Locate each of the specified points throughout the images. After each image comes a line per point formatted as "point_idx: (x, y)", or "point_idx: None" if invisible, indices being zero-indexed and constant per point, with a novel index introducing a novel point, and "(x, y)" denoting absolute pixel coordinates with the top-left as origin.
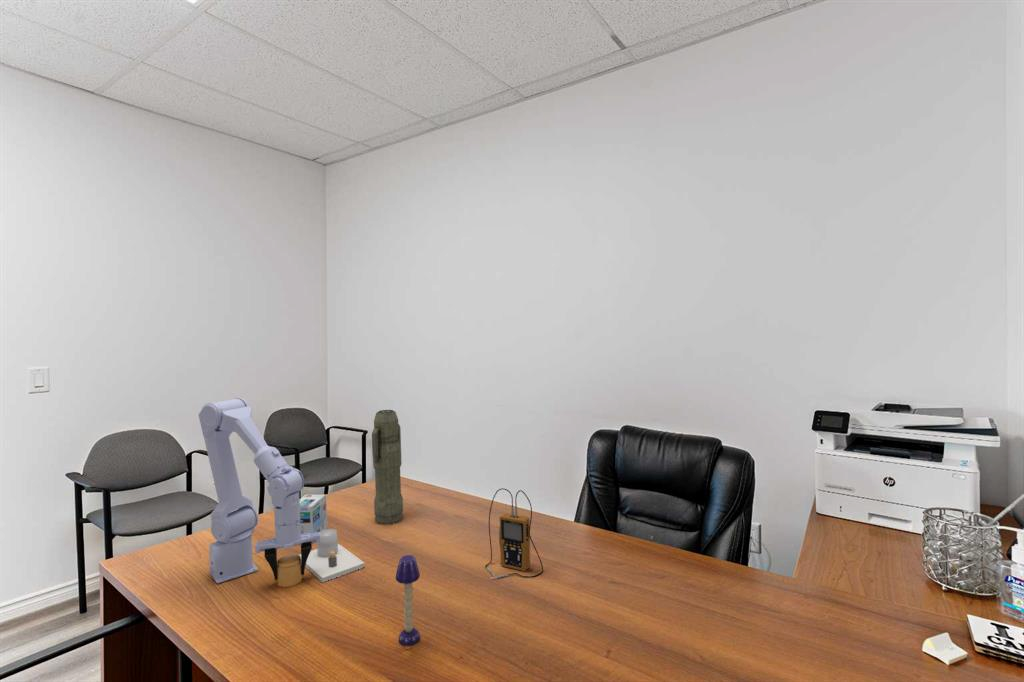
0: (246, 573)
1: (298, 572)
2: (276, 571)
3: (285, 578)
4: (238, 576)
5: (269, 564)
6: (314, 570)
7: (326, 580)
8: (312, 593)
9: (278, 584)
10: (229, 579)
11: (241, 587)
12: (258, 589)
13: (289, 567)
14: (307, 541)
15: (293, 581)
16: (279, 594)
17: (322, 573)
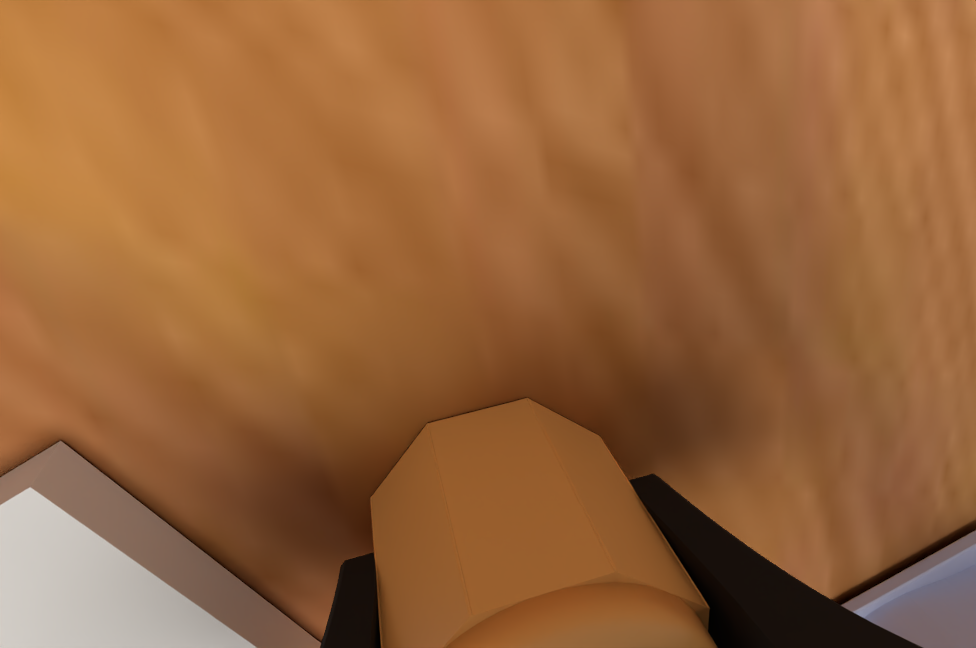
0: (850, 607)
1: (401, 565)
2: (694, 548)
3: (547, 466)
4: (899, 575)
5: (872, 624)
6: (243, 641)
7: (8, 476)
8: (93, 182)
9: (599, 441)
10: (955, 543)
11: (889, 439)
12: (768, 390)
13: (537, 599)
14: None
15: (443, 452)
16: (562, 252)
17: (90, 585)
